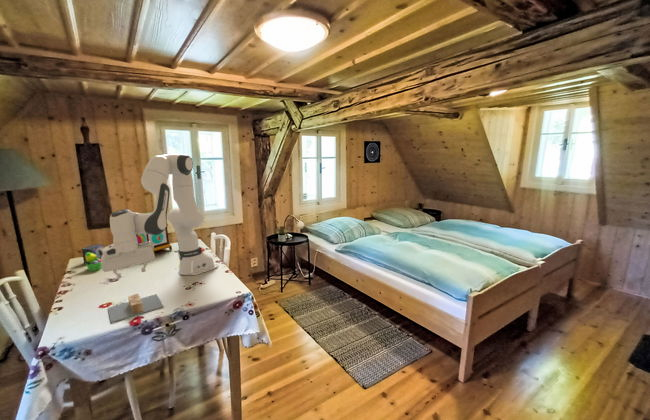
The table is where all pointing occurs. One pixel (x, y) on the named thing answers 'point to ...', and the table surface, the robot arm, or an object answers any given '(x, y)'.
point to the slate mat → (125, 310)
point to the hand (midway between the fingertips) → (131, 274)
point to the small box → (93, 251)
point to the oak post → (135, 303)
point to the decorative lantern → (156, 240)
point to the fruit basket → (93, 262)
